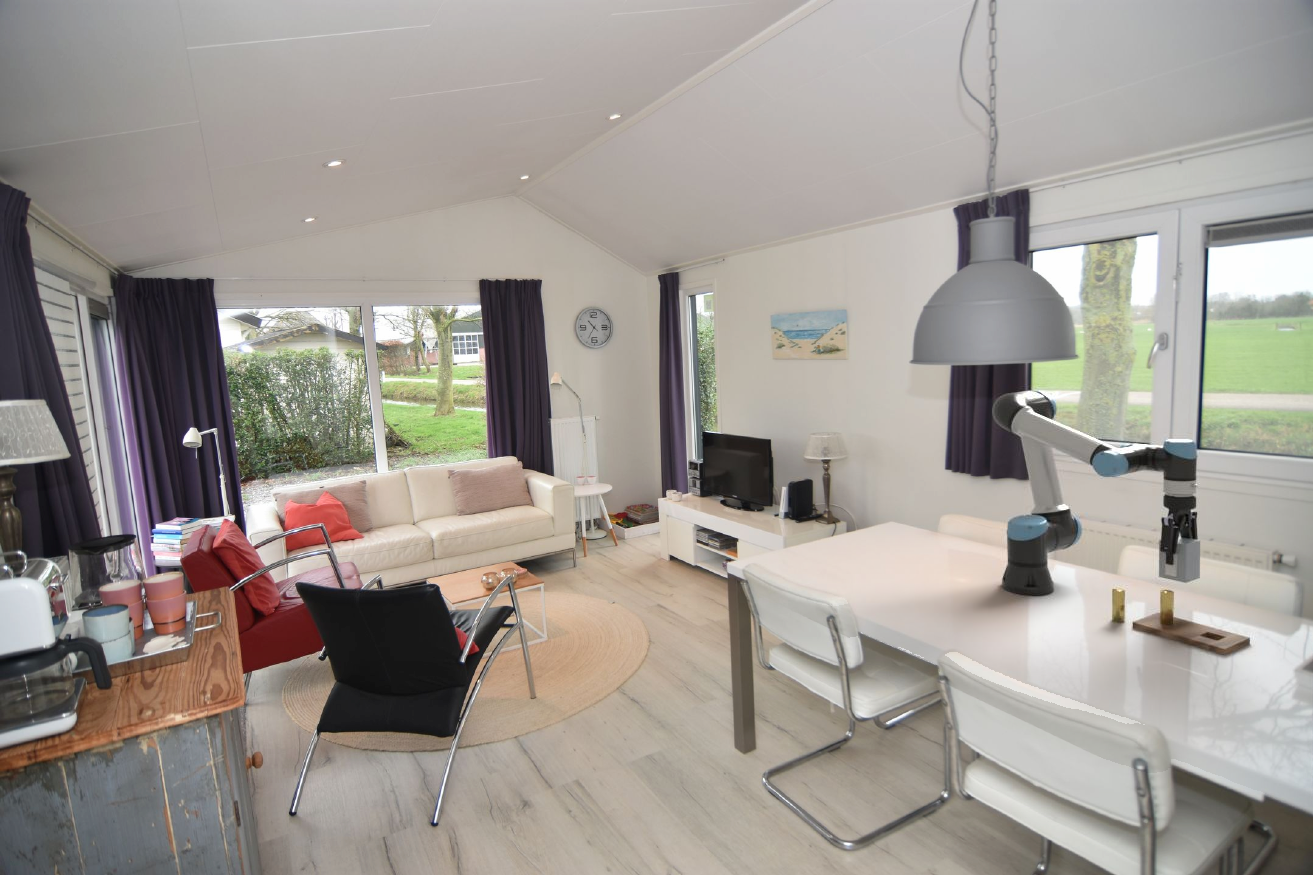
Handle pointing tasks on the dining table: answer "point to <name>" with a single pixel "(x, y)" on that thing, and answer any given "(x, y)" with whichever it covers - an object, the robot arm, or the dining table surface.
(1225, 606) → the dining table surface
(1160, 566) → the block
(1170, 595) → the pin
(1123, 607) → the pin
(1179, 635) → the board
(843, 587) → the dining table surface
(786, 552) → the dining table surface
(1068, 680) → the dining table surface
